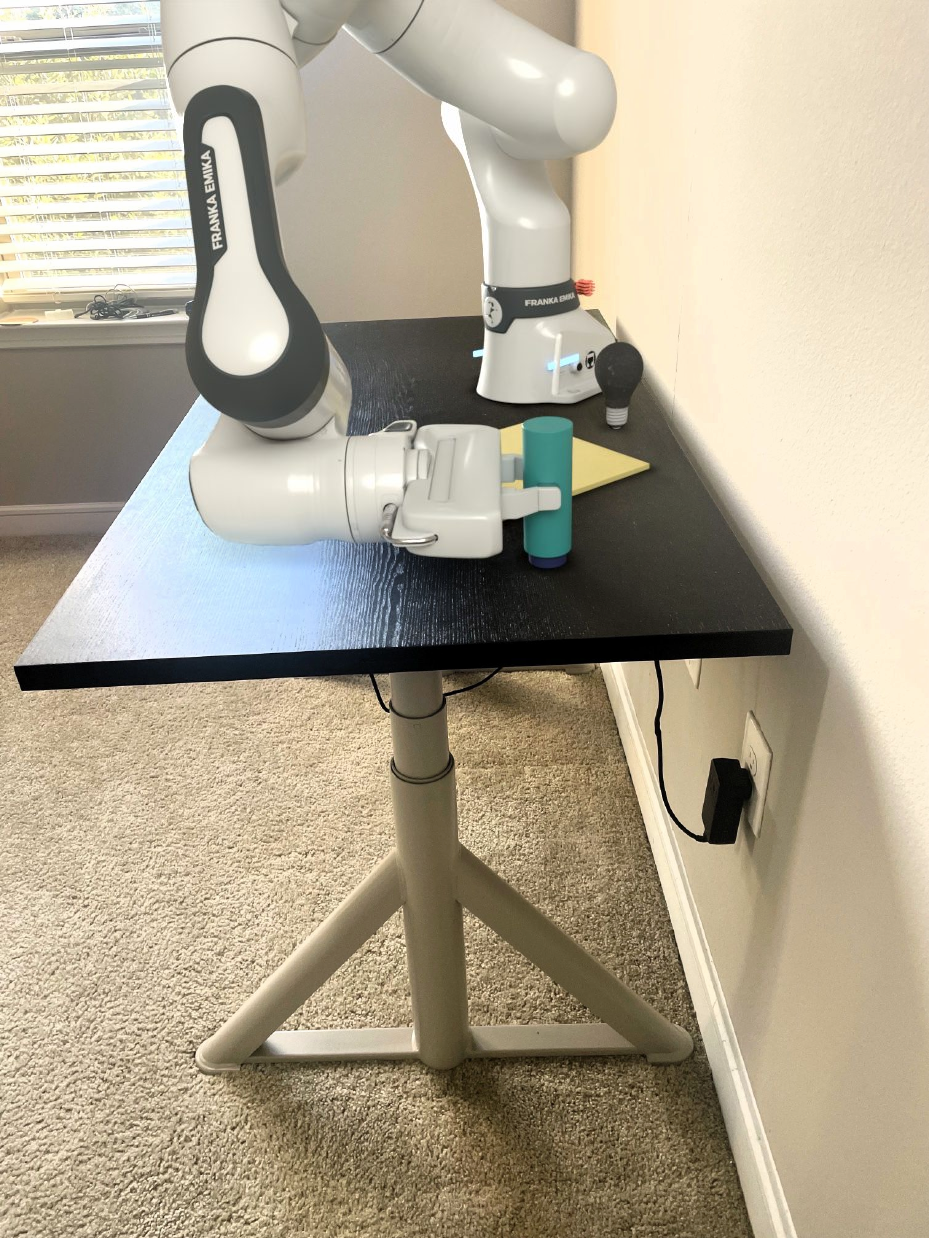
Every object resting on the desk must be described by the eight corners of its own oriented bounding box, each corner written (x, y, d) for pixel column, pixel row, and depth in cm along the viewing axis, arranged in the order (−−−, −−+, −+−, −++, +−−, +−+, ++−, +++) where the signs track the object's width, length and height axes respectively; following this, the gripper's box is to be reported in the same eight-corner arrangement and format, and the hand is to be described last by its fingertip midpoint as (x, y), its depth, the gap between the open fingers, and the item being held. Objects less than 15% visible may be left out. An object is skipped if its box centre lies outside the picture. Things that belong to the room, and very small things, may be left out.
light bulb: (590, 421, 106) (592, 337, 100) (636, 419, 105) (641, 335, 100) (595, 436, 101) (597, 349, 96) (643, 434, 100) (648, 347, 95)
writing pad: (528, 425, 105) (528, 420, 105) (649, 468, 91) (649, 462, 91) (389, 466, 96) (389, 460, 95) (500, 521, 81) (500, 514, 81)
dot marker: (549, 545, 76) (549, 413, 70) (580, 560, 74) (583, 424, 67) (514, 559, 74) (511, 424, 68) (545, 575, 72) (544, 436, 65)
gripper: (370, 503, 61) (567, 496, 60) (398, 414, 78) (551, 408, 77) (379, 582, 64) (566, 576, 63) (404, 479, 81) (551, 474, 81)
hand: (558, 482), depth 70 cm, fingers closed on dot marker, 4 cm apart
